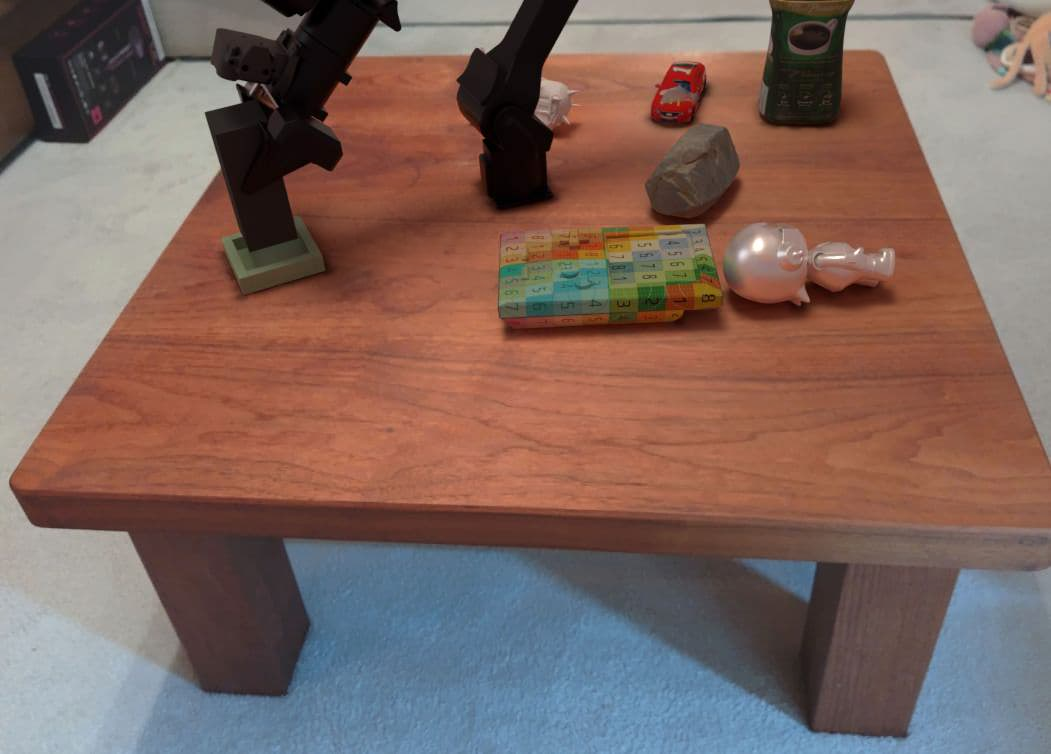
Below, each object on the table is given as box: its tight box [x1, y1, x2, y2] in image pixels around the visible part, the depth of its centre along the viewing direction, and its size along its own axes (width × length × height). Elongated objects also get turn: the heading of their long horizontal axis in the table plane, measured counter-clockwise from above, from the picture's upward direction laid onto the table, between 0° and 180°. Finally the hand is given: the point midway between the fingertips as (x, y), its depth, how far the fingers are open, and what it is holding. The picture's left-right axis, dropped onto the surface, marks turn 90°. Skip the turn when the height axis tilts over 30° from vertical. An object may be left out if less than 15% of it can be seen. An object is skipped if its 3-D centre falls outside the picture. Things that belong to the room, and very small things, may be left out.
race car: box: [650, 60, 707, 124], centre depth 124 cm, size 13×5×4 cm, turn 161°
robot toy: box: [477, 46, 585, 131], centre depth 121 cm, size 15×9×14 cm
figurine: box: [722, 221, 896, 307], centre depth 92 cm, size 11×7×15 cm
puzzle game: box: [497, 223, 724, 330], centre depth 95 cm, size 12×5×20 cm
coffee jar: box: [758, 0, 856, 125], centre depth 116 cm, size 10×8×19 cm
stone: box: [644, 122, 741, 219], centre depth 106 cm, size 12×8×8 cm, turn 152°
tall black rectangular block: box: [204, 99, 298, 252], centre depth 97 cm, size 5×5×13 cm
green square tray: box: [220, 215, 326, 296], centre depth 103 cm, size 8×8×2 cm
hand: (238, 180), depth 97 cm, fingers closed on tall black rectangular block, 5 cm apart
